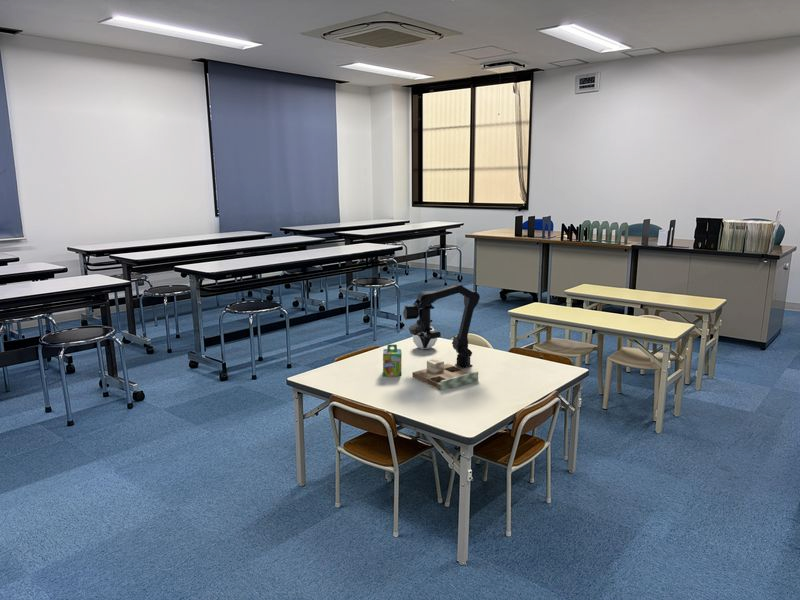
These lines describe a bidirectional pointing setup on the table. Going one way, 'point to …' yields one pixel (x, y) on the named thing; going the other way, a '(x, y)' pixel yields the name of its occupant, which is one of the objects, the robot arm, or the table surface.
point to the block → (435, 365)
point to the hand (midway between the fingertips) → (424, 348)
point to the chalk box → (392, 361)
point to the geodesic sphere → (419, 344)
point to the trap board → (446, 377)
